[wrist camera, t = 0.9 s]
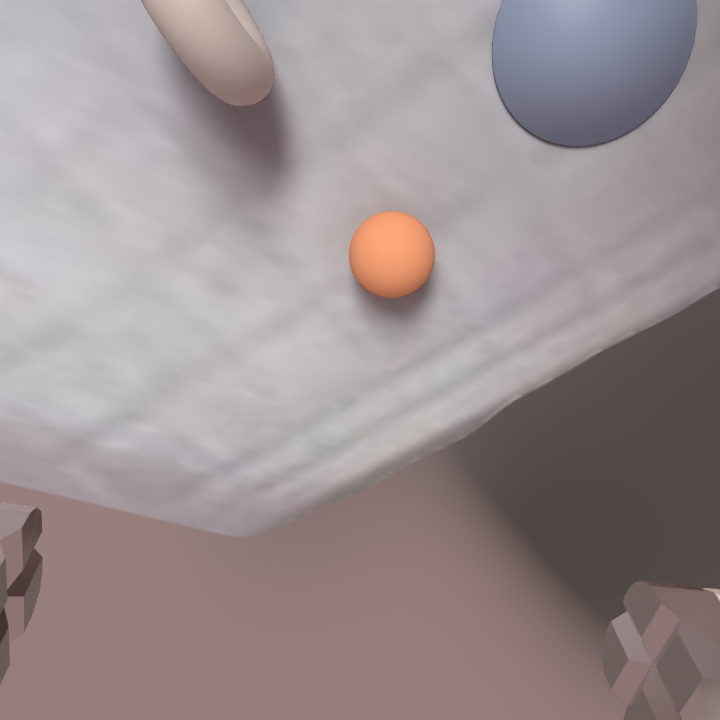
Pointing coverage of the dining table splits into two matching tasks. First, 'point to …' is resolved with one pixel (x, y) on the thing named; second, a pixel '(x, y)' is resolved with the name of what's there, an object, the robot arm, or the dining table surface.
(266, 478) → the dining table surface
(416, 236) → the ball
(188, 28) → the donut
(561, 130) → the blue-grey disc
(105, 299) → the dining table surface
